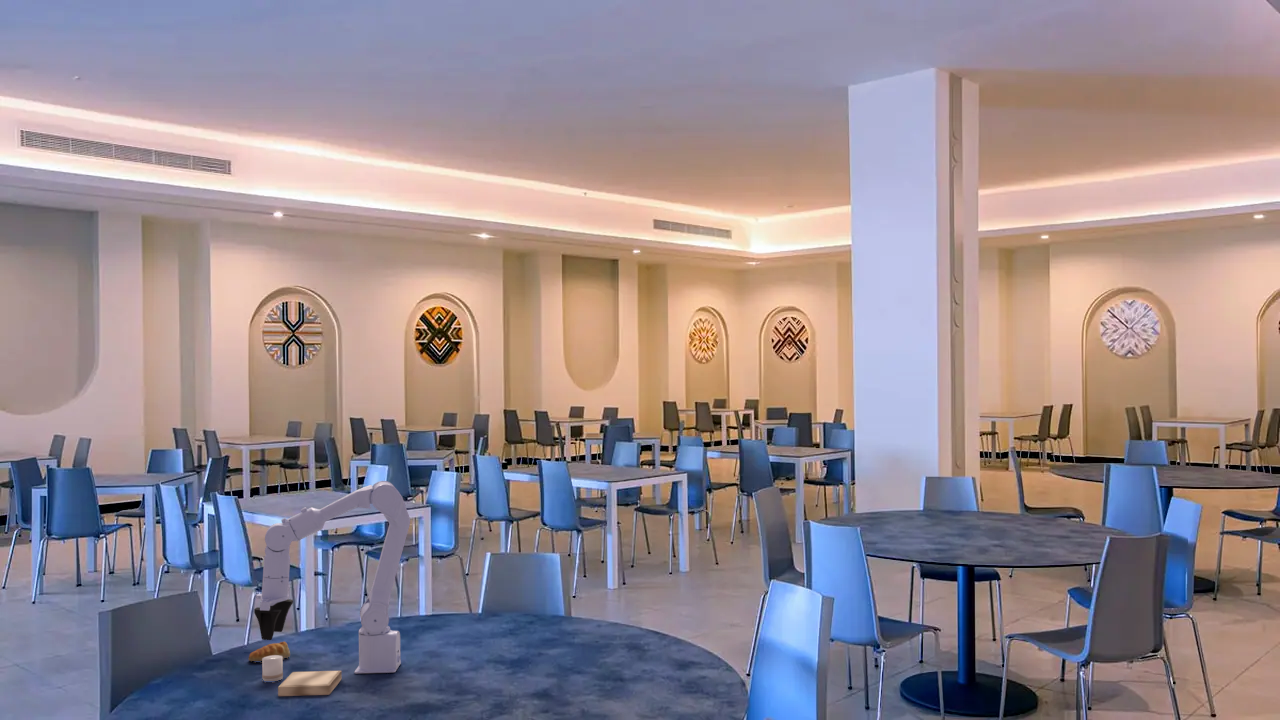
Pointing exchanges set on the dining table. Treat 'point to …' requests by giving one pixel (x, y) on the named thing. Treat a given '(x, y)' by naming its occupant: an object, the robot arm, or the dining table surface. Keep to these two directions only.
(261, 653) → the pastry
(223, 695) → the dining table surface
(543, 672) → the dining table surface
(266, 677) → the pot
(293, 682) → the base board
